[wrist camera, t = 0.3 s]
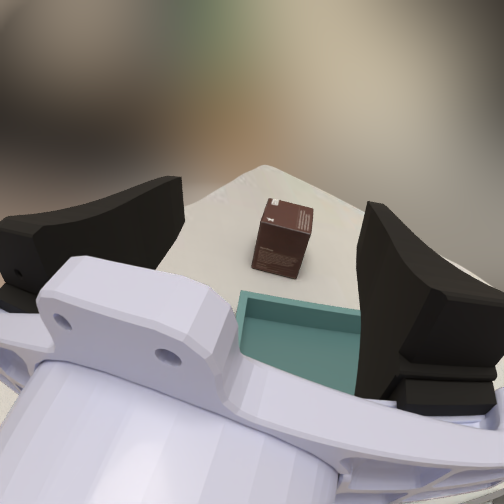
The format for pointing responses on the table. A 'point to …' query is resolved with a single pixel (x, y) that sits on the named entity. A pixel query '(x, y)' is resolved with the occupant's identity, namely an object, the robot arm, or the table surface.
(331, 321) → the teal bin
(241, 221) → the table surface
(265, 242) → the box
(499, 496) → the grey bin
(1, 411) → the table surface
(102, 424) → the robot arm
